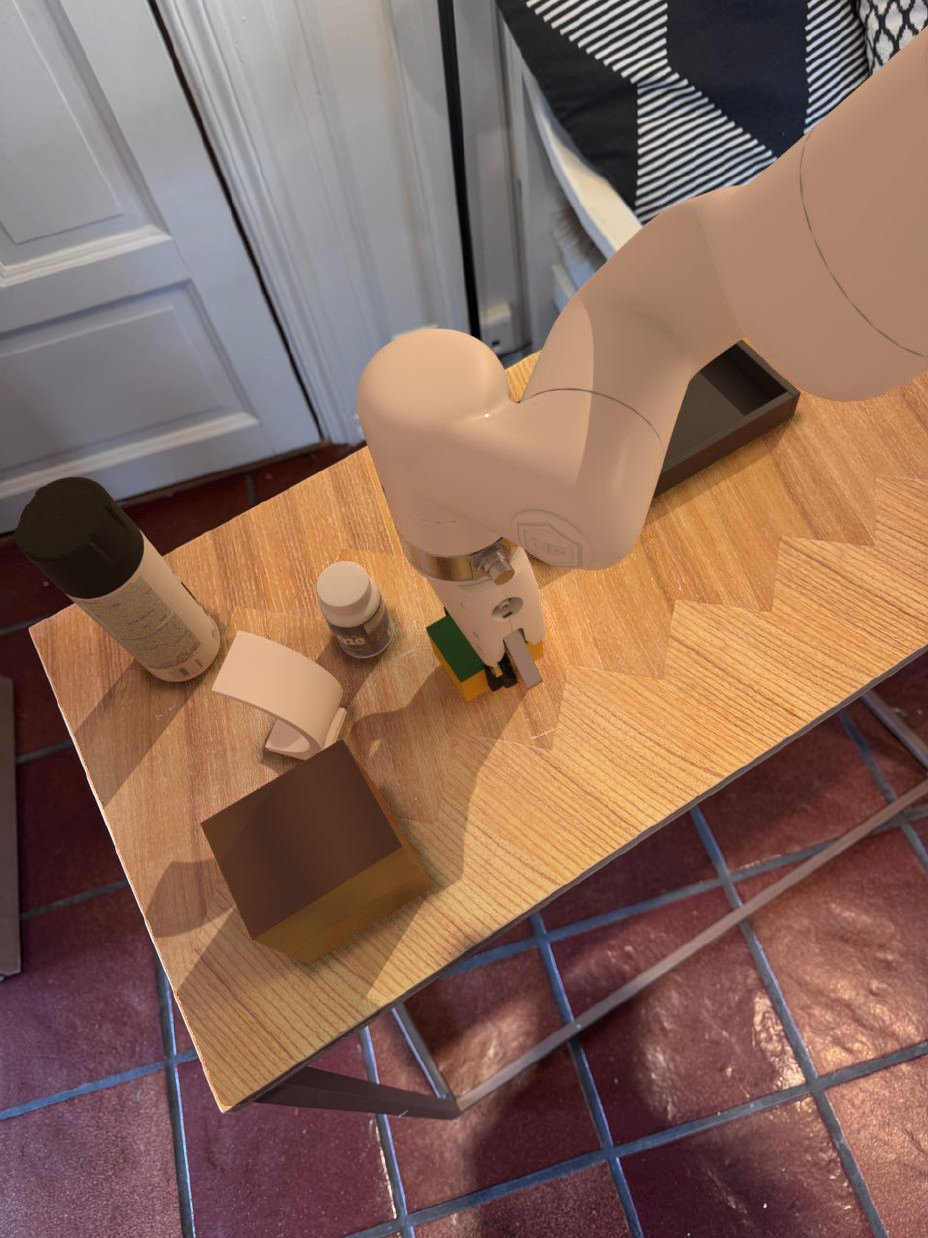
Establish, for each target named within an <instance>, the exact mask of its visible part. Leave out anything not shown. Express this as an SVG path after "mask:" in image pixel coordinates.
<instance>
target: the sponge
mask: <svg viewBox="0 0 928 1238" xmlns="http://www.w3.org/2000/svg"><path fill="white" fill-rule="evenodd" d="M425 630H426V633H427V636H428V638H429V641H430V642H429V643H430V645H431V647H432V651H433V654H434V655H435V657H436V658H437V660H438V661H439V663H440V664H441V666H442V667H443V669H444V671H445V672H446V673H447V675H448V676H449V679H450V680H451V681H452V682H453V684H454V686H455V687H456V688H457V690H458V692H459V693H460V694H461V696H462V698H463V699H464V701H465V702H466V703H468V702H470V701H471V700H473V699H475V698H477V697H478V696H480V695H481V694H483V693H485V692H487V691H488V690H491V689H490V687H489V686H488V682H487V678H486V674H485V669H484V666H485V663H484V662H483V661H482V659H481V658H480V657H479V655H478V654H477V653H476V651H475V650H474V648H473V647H472V645H471V644H470V643H469V641H468V640H467V638H466V637H465V635H464V634H463V633H462V631H461V630H460V628H459V627H458V626H457V624H456V623H455V621H454V620H453V618H452V617H451V616H450V614H448V615H447V616H446V615H445V616H443V617H442V618H440V619H438V620H436V621H435V622H433V623H432V624H429V625H427V626H426V627H425ZM522 637H523V639H524V636H523V634H522ZM524 641H525V643H526V645H527V648H528V650H529V652H530V654H531V656H532V658H533V660H534V662H537V661H538V660H540V659H541V658H543V657H544V656H545V653H544V642H543V641H544V640H541V641H540V642H539V643H537V644H536V645H534V644H532V643H530V642H528V641H526V640H525V639H524Z"/></svg>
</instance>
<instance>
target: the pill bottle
mask: <svg viewBox="0 0 928 1238" xmlns="http://www.w3.org/2000/svg"><path fill="white" fill-rule="evenodd" d="M315 590H316V595H317V596H318V599H319V601H318V603H319V605H318V606H319V609H320V612H321V614H322V616H323V619H324V620H325V622H326V623H327V625H328V627H329V629H330V631H331V632H332V634H333V637H334V638H335V640H336V641H337V643H338V646H339V647H340V648H341V649H342V651H344V652H345V653H346V654H347V655H349V656H351V657H354V658H357V659H369V658H372V657H375V656H378V655H379V654H381V653H382V652H384V651H385V650H386V649H387V648H388V646H389V645H390V643H391V642H392V640H393V637H394V624H393V621H392V618H391V615H390V613H389V611H388V608H387V605H386V603H385V601H384V598H383V596H382V593H381V591H380V588H379V586H378V585H377V583H376V582H375V580H374V579H373V578H372V577H370V576H369V575H368V572H367V571H366V570H365V568H364V567H363V566H362V565H361V564H359V563H358V562H357V563H356V562H354V561H350V560H341V561H336V562H333V563H331V564H330V565H328V566H327V567H325V568H324V569H323V570H322V571H321V573H320V574H319V576H318V577H317V580H316V585H315Z"/></svg>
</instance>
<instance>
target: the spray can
mask: <svg viewBox="0 0 928 1238" xmlns="http://www.w3.org/2000/svg"><path fill="white" fill-rule="evenodd" d="M13 538H14V542H15V545H16V547H17V548H18V549H19V551H20V552H21V553H22V554H23V555H24V556H25V557H26V558H27V559H28V560H29V561H30V562H31V563H32V564H33V565H34V566H36V568H38V569H39V570H40V572H42V573H43V574H44V575H45V576H46V577H47V579H49V580H50V581H51V582H52V583H53V584H54V585H55V587H57V588H58V589H59V590H60V591H61V592H62V593H64V594H65V596H66V597H68V598H69V599H70V600H71V601H72V602H73V603H74V604H75V605H77V606H78V608H80V609H81V610H82V611H83V612H84V613H85V614H86V615H88V617H89V618H91V620H93V621H94V622H95V623H96V624H97V625H98V626H99V627H100V628H101V629H102V630H104V632H106V633H107V634H108V635H109V636H110V637H111V638H112V639H113V640H114V641H116V643H118V644H119V645H120V646H121V647H122V648H124V650H125V651H126V652H128V653H129V654H130V655H131V656H132V657H133V658H134V659H135V660H136V661H137V662H138V663H139V664H140V665H141V666H143V667H144V669H146V670H147V671H148V672H149V673H151V674H152V675H153V676H154V677H156V678H158V679H160V680H162V681H166V682H172V683H173V682H175V683H176V682H177V683H183V682H187V681H190V680H192V679H196V678H198V677H200V676H201V675H202V674H203V673H204V672H205V671H207V670H208V669H209V668H210V667H211V666H212V664H213V663H214V661H215V660H216V658H217V656H218V655H219V652H220V646H221V637H220V630H219V627H218V625H217V623H216V621H215V620H214V618H212V616H211V615H210V614H209V612H208V611H207V610H206V609H205V608H204V606H203V605H202V603H201V601H199V600H198V599H197V598H196V597H195V596H194V594H193V593H192V592H191V591H190V589H189V588H188V587H187V586H186V585H185V583H184V582H183V581H182V580H181V578H180V577H179V576H178V574H177V573H175V571H174V570H173V569H172V568H171V566H170V565H169V563H168V562H167V561H166V560H165V559H164V557H163V556H162V555H161V554H160V552H158V550H157V549H156V547H155V546H154V545H153V544H152V542H150V540H149V539H148V538H147V537H146V535H145V534H144V532H143V531H142V530H141V529H140V528H139V526H137V524H136V523H135V522H134V521H133V520H132V519H131V518H130V517H129V515H128V514H127V513H126V512H125V511H124V510H123V508H122V507H121V506H120V505H119V504H118V503H117V502H116V500H115V499H114V498H113V497H112V495H110V493H109V492H108V491H107V489H106V488H105V487H104V486H103V485H102V484H100V483H99V482H97V481H95V480H93V479H90V478H88V477H83V476H68V477H67V476H66V477H62V478H59V479H55V480H53V481H50V482H48V483H47V484H45V485H43V486H41V487H39V488H38V489H37V490H36V491H35V492H34V496H33V497H32V498H31V500H30V501H29V502H28V503H27V504H25V506H24V508H23V510H22V512H21V514H20V516H19V521H18V524H17V527H16V528H15V529H14V532H13Z"/></svg>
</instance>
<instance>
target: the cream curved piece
mask: <svg viewBox="0 0 928 1238" xmlns="http://www.w3.org/2000/svg"><path fill="white" fill-rule="evenodd" d="M210 690H211V692H212V693H213V694H214V695H215V696H219V697H222V698H225V699H228V700H231V701H235V702H238V703H241V704H243V705H245V706H248V707H250V708H253V709H255V710H258V711H260V712H263V713H264V714H266V715H269V716H271V717H272V718H275V722H274V725H273V726H272V730H271V732H270V734H269V736H268V739H267V741H266V743H265V749H267V751H270V752H274V753H278V754H281V755H284V756H287V757H291V758H294V759H299V760H302V761H305V760H307V759H309V758H310V757H312V756H314V755H315V754H317V753H319V752H320V751H322V750H324V749H325V748H327V747H329V746H330V745H332V744H334V743H336V742H337V741H338V737H339V734H340V732H341V730H342V727H343V725H344V722H345V719H346V718H347V717H346V716H347V714H348V711H347V709H346V708H345V707H341V706H340V703H341V701H342V698H343V696H344V689H343V687H342V684H340V682H339V681H338V680H337V678H336V677H335V676H333V675H332V674H331V673H330V672H329V671H328V670H327V669H325V668H324V667H322V666H321V665H320V664H318V663H317V662H315V661H314V660H312V659H310V658H309V657H307V656H305V655H303V654H302V653H299V652H298V651H296V650H294V649H292V648H289V647H288V646H285V645H283V644H281V643H278V642H276V641H274V640H271V639H268V638H267V637H266V638H265V637H263V636H260V635H257V634H255V633H250V632H247V631H243V630H240V629H239V630H238V631H237V633H236V635H235V638H234V640H233V641H232V644H231V646H230V648H229V651H228V652H227V655H226V657H225V658H224V661H223V663H222V665H221V667H220V669H219V671H218V674H217V676H216V678H215V681H214V683H213V685H212V686H211V689H210Z"/></svg>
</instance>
